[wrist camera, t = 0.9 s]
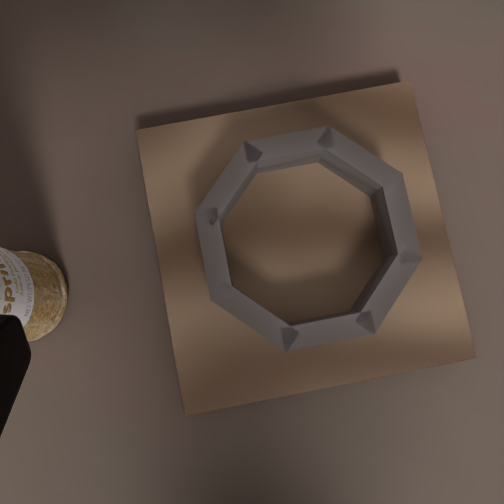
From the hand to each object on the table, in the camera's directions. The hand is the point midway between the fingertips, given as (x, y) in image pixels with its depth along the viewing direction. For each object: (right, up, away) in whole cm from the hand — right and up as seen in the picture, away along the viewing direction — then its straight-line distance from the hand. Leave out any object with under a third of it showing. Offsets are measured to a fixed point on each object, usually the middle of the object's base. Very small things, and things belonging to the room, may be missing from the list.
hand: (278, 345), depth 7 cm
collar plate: (+2, +2, +14) cm, 15 cm away
